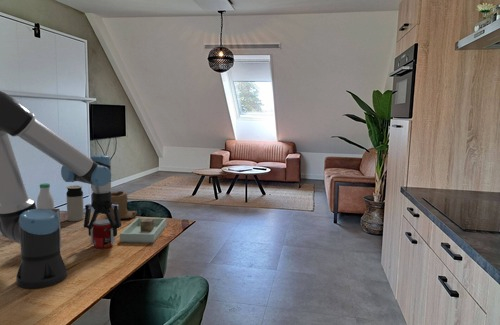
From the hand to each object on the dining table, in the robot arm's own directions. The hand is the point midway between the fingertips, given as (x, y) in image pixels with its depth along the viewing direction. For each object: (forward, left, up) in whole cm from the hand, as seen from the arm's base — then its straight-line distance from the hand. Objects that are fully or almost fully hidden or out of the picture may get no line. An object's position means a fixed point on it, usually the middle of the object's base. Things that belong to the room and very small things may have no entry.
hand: (103, 243), depth 160 cm
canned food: (0, 0, -1) cm, 1 cm away
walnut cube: (+21, -13, -1) cm, 25 cm away
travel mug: (+39, +30, -2) cm, 49 cm away
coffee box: (-3, +22, -2) cm, 22 cm away
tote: (+18, -13, -1) cm, 22 cm away
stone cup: (+43, +7, -2) cm, 44 cm away
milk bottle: (+34, +43, -2) cm, 55 cm away
